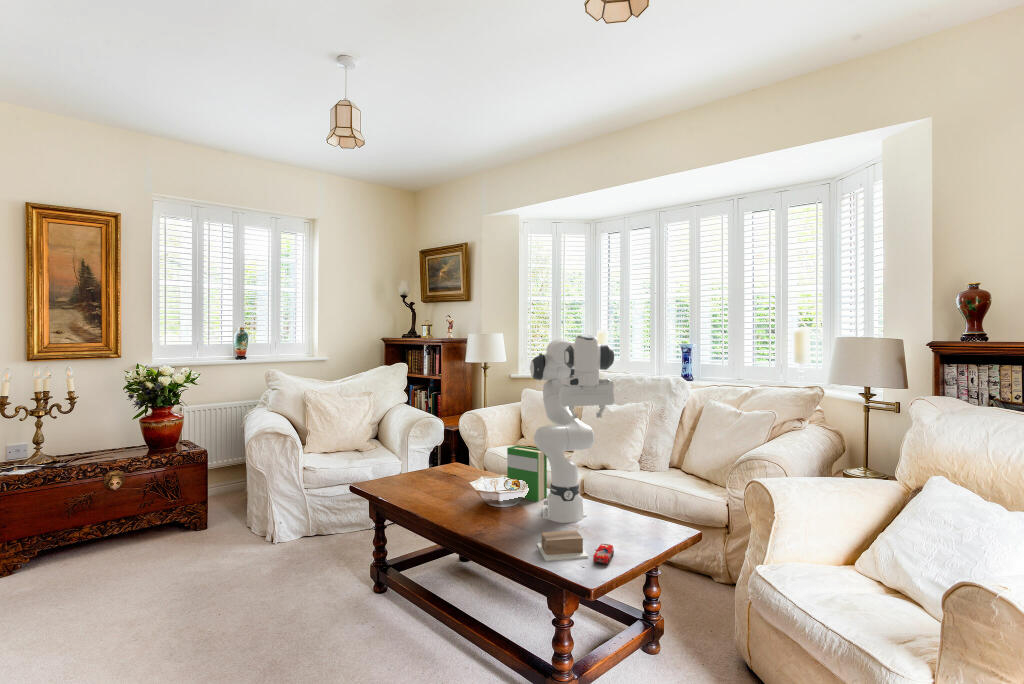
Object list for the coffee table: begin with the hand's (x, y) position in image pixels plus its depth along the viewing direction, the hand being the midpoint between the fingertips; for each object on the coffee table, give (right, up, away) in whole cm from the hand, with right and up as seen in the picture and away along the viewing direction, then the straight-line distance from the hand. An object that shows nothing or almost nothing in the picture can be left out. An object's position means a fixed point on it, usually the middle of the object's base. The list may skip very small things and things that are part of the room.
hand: (586, 418), depth 193 cm
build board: (-9, -47, -4) cm, 48 cm away
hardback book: (-20, -47, +59) cm, 78 cm away
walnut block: (-9, -46, -4) cm, 47 cm away
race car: (+4, -49, -13) cm, 51 cm away
